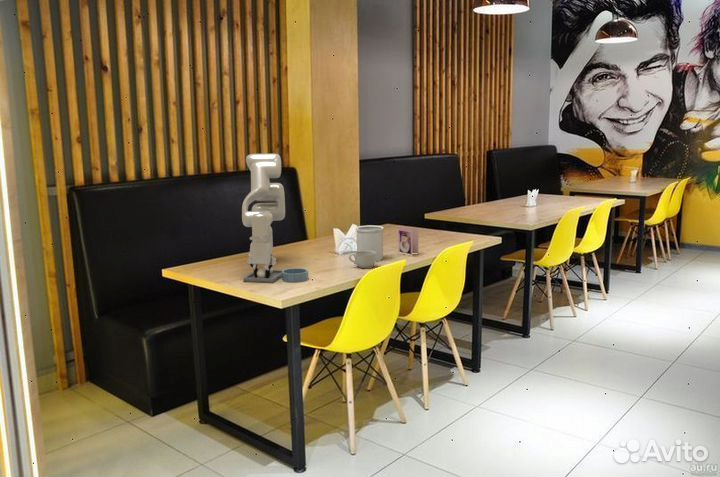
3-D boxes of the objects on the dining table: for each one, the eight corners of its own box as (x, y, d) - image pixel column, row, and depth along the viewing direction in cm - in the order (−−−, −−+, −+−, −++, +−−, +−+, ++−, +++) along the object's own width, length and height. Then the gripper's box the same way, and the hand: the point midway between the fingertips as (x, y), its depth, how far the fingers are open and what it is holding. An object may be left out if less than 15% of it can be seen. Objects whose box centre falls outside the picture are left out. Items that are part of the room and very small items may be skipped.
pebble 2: (261, 275, 308) (261, 265, 308) (265, 273, 313) (264, 263, 312) (271, 275, 307) (270, 266, 307) (274, 273, 312) (274, 264, 311)
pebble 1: (255, 279, 301) (255, 269, 300) (259, 277, 305) (258, 267, 305) (265, 279, 300) (264, 269, 299) (268, 277, 304) (268, 267, 304)
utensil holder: (381, 262, 338) (381, 229, 335) (353, 261, 341) (353, 229, 338) (385, 256, 353) (385, 225, 350) (359, 256, 356) (359, 225, 352)
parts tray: (243, 281, 300) (243, 277, 299) (257, 273, 317) (257, 269, 316) (273, 283, 296) (273, 279, 296) (286, 274, 314) (285, 270, 313)
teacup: (375, 264, 333) (375, 249, 332) (376, 269, 323) (376, 253, 321) (348, 265, 333) (348, 250, 331) (349, 269, 322) (348, 254, 321)
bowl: (278, 281, 299) (278, 273, 298) (287, 275, 311) (286, 267, 310) (303, 282, 296) (303, 274, 296) (311, 276, 308) (310, 268, 307)
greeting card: (397, 253, 360) (397, 227, 358) (407, 252, 365) (407, 226, 362) (411, 257, 352) (411, 230, 349) (420, 255, 356) (421, 228, 354)
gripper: (240, 240, 298) (242, 278, 301) (275, 241, 294) (276, 280, 297) (246, 237, 305) (248, 275, 308) (280, 238, 301) (281, 276, 304)
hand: (262, 277), depth 302 cm, fingers closed on pebble 1, 4 cm apart
